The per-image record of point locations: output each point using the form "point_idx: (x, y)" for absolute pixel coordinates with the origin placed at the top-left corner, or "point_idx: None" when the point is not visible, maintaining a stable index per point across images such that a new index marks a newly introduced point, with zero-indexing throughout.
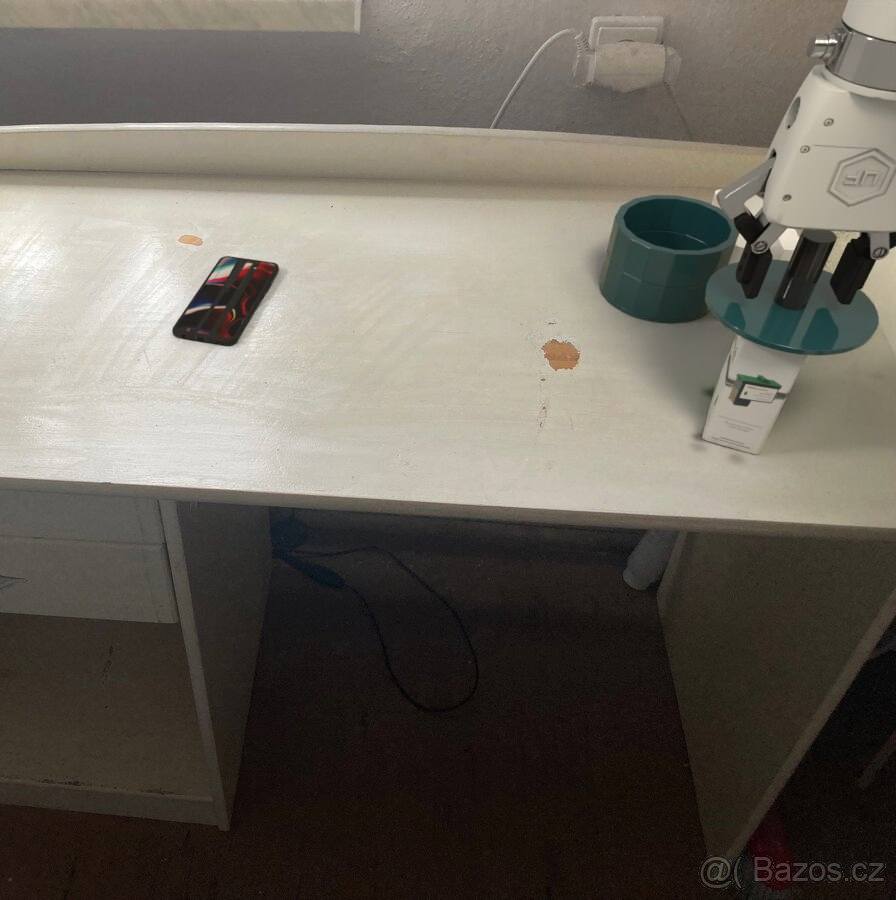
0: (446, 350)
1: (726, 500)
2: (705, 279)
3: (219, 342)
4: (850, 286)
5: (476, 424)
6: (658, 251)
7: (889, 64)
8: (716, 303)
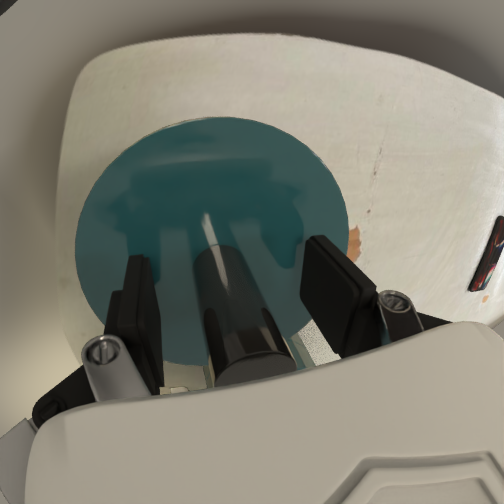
0: (420, 235)
1: (232, 57)
2: None
3: (502, 216)
4: (141, 278)
5: (419, 149)
6: (298, 366)
7: None
8: (340, 237)
